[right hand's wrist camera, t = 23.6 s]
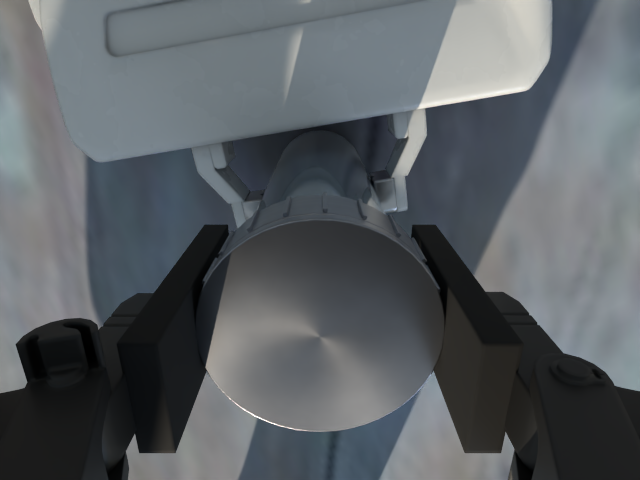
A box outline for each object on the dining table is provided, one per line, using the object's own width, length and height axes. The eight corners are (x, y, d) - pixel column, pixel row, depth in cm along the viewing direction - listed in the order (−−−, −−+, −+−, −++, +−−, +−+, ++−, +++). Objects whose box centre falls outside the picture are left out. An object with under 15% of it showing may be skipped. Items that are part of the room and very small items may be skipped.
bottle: (362, 128, 26) (425, 216, 10) (362, 211, 28) (415, 391, 12) (274, 131, 26) (206, 224, 10) (280, 214, 28) (231, 397, 12)
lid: (436, 186, 11) (460, 210, 9) (423, 382, 13) (440, 431, 11) (196, 195, 11) (172, 220, 9) (224, 387, 13) (210, 437, 12)
